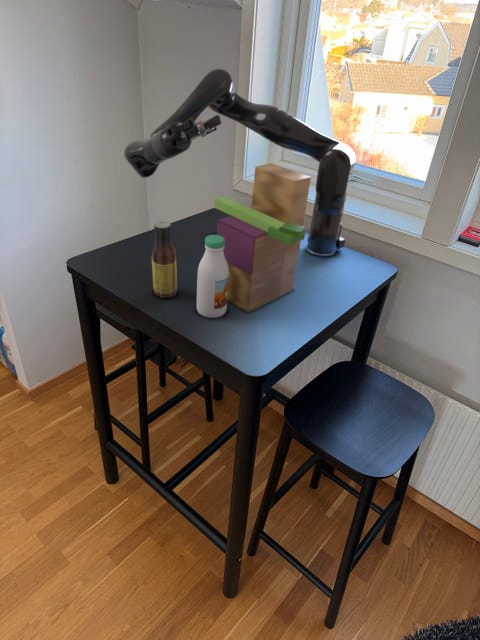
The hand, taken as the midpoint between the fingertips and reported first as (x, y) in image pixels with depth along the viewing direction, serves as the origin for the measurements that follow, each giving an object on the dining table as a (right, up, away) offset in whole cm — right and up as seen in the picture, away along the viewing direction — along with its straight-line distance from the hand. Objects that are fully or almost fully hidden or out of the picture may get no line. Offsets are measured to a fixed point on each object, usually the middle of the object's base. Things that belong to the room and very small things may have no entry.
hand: (206, 120), depth 114 cm
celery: (+12, -25, +1) cm, 28 cm away
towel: (+11, -33, +7) cm, 35 cm away
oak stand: (+12, -41, +15) cm, 45 cm away
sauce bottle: (-12, -42, +10) cm, 45 cm away
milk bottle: (+1, -46, +5) cm, 47 cm away
